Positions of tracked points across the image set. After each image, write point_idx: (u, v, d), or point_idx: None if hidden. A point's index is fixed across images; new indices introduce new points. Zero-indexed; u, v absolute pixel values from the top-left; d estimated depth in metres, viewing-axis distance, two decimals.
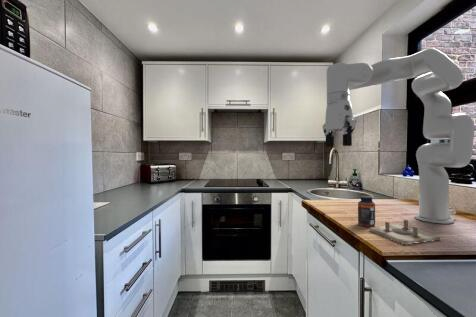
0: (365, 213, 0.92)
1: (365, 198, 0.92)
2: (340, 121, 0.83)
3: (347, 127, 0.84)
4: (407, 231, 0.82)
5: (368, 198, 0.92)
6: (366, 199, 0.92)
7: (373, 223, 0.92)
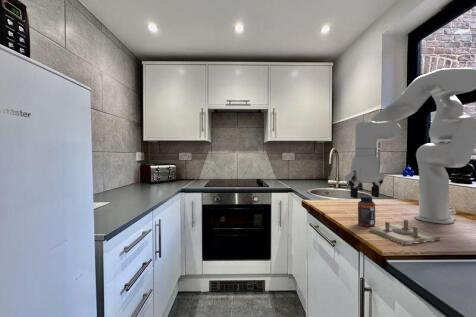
0: (365, 213, 0.92)
1: (365, 198, 0.92)
2: (378, 176, 0.93)
3: None
4: (407, 231, 0.82)
5: (368, 198, 0.92)
6: (366, 199, 0.92)
7: (373, 223, 0.92)
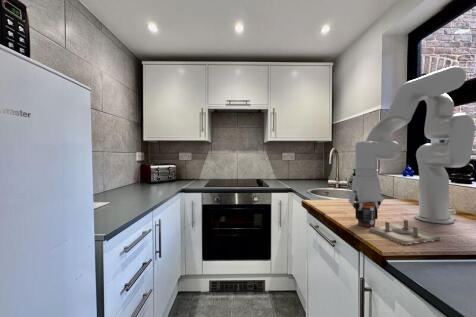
0: (365, 213, 0.92)
1: None
2: (379, 195, 0.93)
3: None
4: (407, 231, 0.82)
5: None
6: None
7: (373, 223, 0.92)
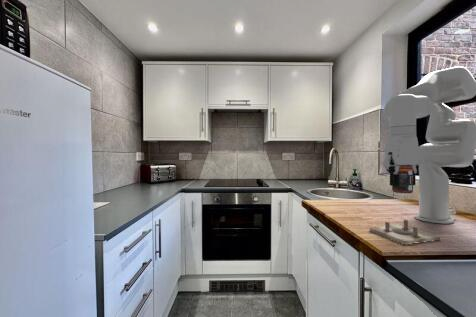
0: (401, 177, 0.79)
1: None
2: (418, 157, 0.80)
3: None
4: (407, 231, 0.82)
5: None
6: None
7: (411, 189, 0.79)
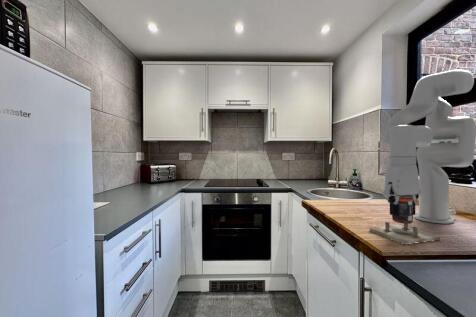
0: (401, 208, 0.80)
1: None
2: (418, 187, 0.81)
3: None
4: (407, 231, 0.82)
5: None
6: None
7: (411, 219, 0.79)
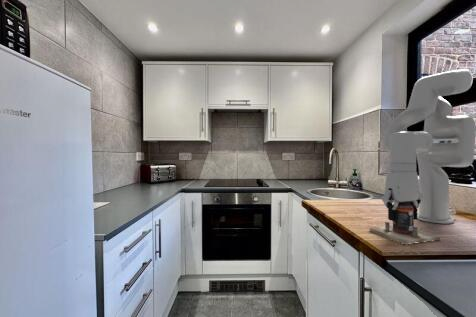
0: (402, 218, 0.80)
1: None
2: (418, 193, 0.81)
3: None
4: None
5: None
6: None
7: (412, 229, 0.80)
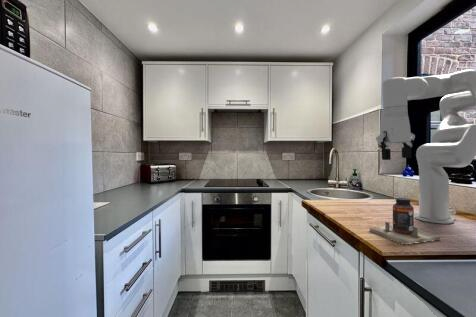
0: (402, 218, 0.80)
1: (402, 201, 0.81)
2: (409, 135, 0.88)
3: None
4: None
5: (406, 201, 0.80)
6: (404, 201, 0.80)
7: (412, 229, 0.80)
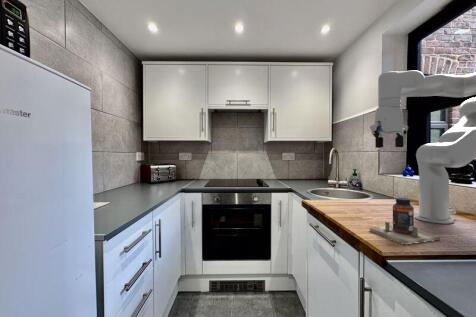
0: (402, 218, 0.80)
1: (402, 200, 0.81)
2: (402, 125, 0.95)
3: None
4: None
5: (406, 200, 0.80)
6: (403, 201, 0.80)
7: (412, 229, 0.80)
